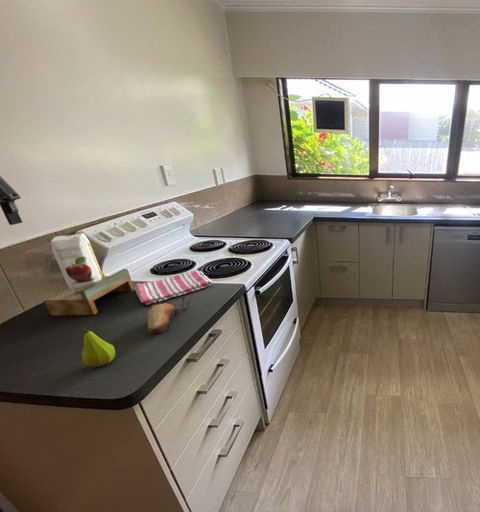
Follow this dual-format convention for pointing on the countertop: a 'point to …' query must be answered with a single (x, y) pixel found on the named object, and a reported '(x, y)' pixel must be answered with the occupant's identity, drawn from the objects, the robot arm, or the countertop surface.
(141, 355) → the countertop surface
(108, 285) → the shelf
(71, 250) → the juice carton
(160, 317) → the vegetable
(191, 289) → the dish towel
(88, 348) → the fruit
